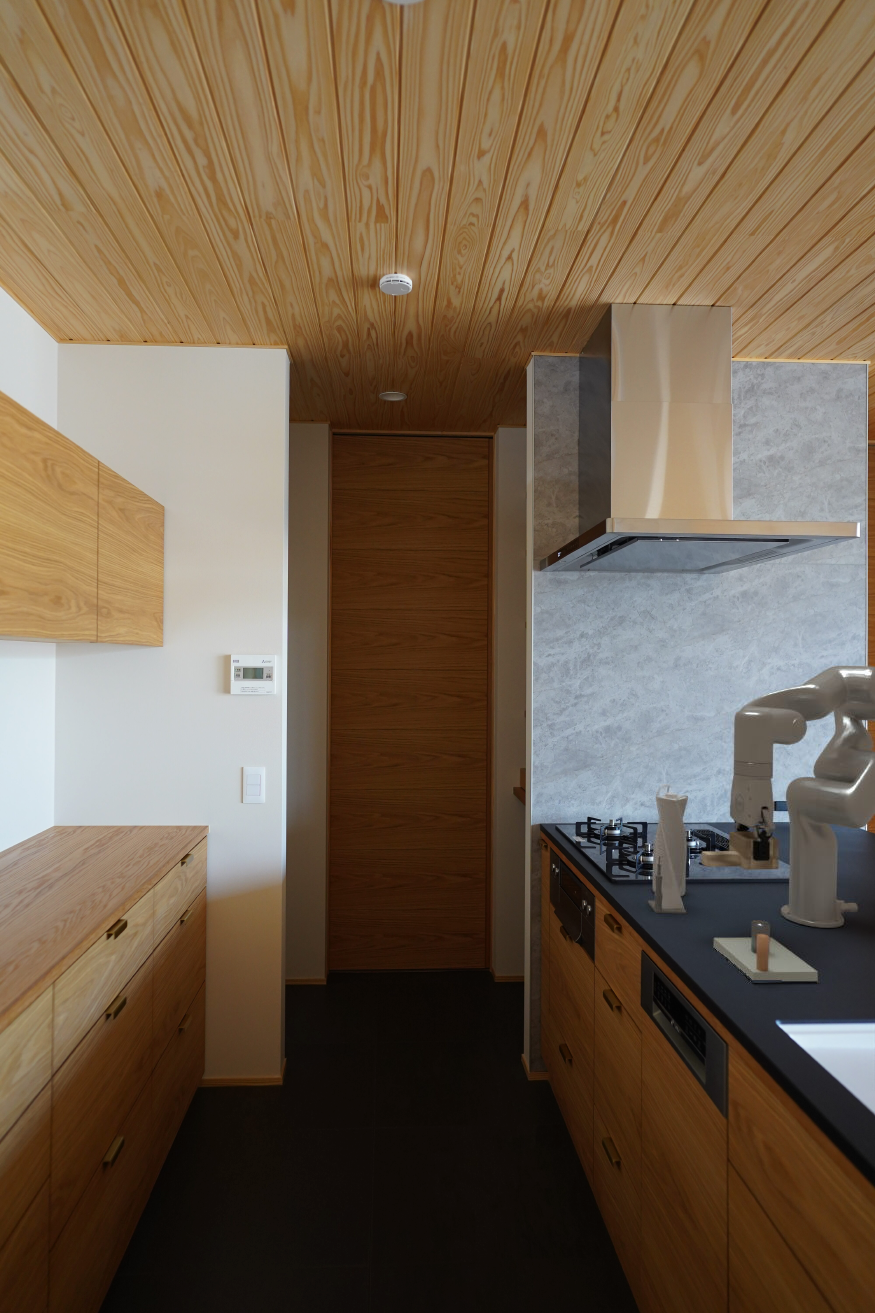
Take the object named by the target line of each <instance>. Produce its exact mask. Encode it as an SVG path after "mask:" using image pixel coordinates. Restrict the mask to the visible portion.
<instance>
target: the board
mask: <svg viewBox="0 0 875 1313" xmlns="http://www.w3.org/2000/svg"><path fill="white" fill-rule="evenodd" d="M714 948H715V949H716V950H717V952H718V951H719V952H720V953H721V954H723V955H724V956H725V957H727V958H728V959H729V960H730V961H731V962H732V963H733V964H735V965H736V966H737V967H738V968H739V969H741V970H742V971H743V972H744V973H746V975H747V976H749V977H750V978H751V979H752V980H782V981H817V982H818V976H819V974H818V971H817V970H816V969H815V968H814V967H812V966H810V965H809V964H808V963H806V961H804V960H803V959H801V958H800V957H799V956H797V955H796V954H794V953H793V952H792V951H791V950H789V949H787V947H785V946H784V945H782V944H781V943H780V942H778V941H777V940H776V939H774V938H773V937H770V946H769V965H768V971H766V972H764V971H759V970H757V969H756V959H757V954H755V953H753V952H752V951H751V937H714V938H713V949H714ZM715 949H714V950H715ZM716 950H715V951H716ZM719 952H718V953H719ZM720 953H719V954H720ZM721 954H720V955H721Z"/></svg>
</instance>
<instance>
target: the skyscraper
mask: <svg viewBox="0 0 875 1313" xmlns="http://www.w3.org/2000/svg"><path fill="white" fill-rule="evenodd" d="M670 786H671V785H669V784H664V785H662V786H661V787H660V788H659V789H658V790H657V791H656V794H655V795H656V796H655V802H656V807H657V813H658V817H659V818H658V822H657V827H656V836H655V838H656V852H655V855H656V872H657V874H656V891H655V892H654V900H647V904H648V905H649V906H650V908H651V909H652V910H653V911H654V913H655V914H657V913H659V914H685V915H686V914H687V910H686V909H685V907H684V903H683V900H682V896H680V892H681V888H682V884H683V879H684V873H685V866H686V867H687V853H688V852H687V850H688V849H687V848H688V847H687V844H688V843H687V835H686V828H685V824H684V820H683V819H684V815H685V811H686V809H687V808H686V807H687V805H688V799H689V796H688V795H687V794H683V795H680V796H679V794H678V793H676V792H670ZM664 788H667V789H666V792H665V793H664V795H659V794H660V791H661V790H662V789H664Z"/></svg>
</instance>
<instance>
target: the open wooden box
mask: <svg viewBox="0 0 875 1313" xmlns="http://www.w3.org/2000/svg"><path fill="white" fill-rule="evenodd" d="M761 831H762V830H759V834H760V833H761ZM728 834H729V835H728V836H729V844H728V845H729V847H728V849H729V850H724V851H723V850H722V851H720V850H719V851H718V850H717V851H715V850H714V851H711V850H710V851H709V850H708V851H701V864H702V865H703V866H704V867H706V868H708V867H709V868H711V867H712V868H713V867H714V868H717V867H718V868H719V867H720V868H721V867H723V868H726V867H727V868H729V867H739V868H742V869H743V870H745V871H746V870H747V871H748V870H751V871H752V870H779V853H780V852H779V848H780V846H779V844H780V842H779V839H778V838H776V837H774V836H773V835H772V836H771V841H770V859H769V860H768V861H755V860H754V859H753V840H755V835H754V831H751V830H749V832H735V831H729V832H728Z"/></svg>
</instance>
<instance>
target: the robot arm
mask: <svg viewBox="0 0 875 1313" xmlns="http://www.w3.org/2000/svg"><path fill="white" fill-rule="evenodd" d="M832 713H833V716H834V725H835V726H834V727H835V730H834V733H833V736H832V737H831V739H830V740H829V741H828V743H827V744H826V746H825V747H824V749H823V750H821V751H822V752H821V753H820V754H819V756H818V757H817V759H816V761H815V763H814V764H813V771H812V772H813V776H803V777H802V776H801V777H797V778H795V779H793V780H791V782H790V783H789V784H788V785H787V788H786V791H785V801H786V802H785V803H786V808H787V813H788V820H789V870H788V871H789V876H788V877H789V879H788V880H789V881H788V885H789V886H788V904H785V905H783V906H782V907H781V908H780V913H781V916H783V918H784V919H787V920H789V921H791V922H793V923H797V924H799V925H803V926H807V927H808V926H809V927H814V928H823V929H824V928H826V929H830V928H831V929H832V928H834V929H835V928H839V927H842V926H843V925H844V923H845V919H844V916H843V915H842V914H844V913H845V912H848V913H856V912H858V910H859V907H858V905H857V903H856V902H845V900H839V899H837V890H838V889H837V885H838V884H837V883H838V882H837V881H838V880H837V877H838V875H837V874H838V840H837V837H836V834H835V833H834V831H833V829H832V827H831V825H833V826H839V827H841V828H842V827H844V828H848V829H861V828H863V827H866V826H867V825H868V823H870V822H871V820H872V818H874V816H875V751H874V740H873V738H872V735H871V733H870V732H869V730H868V729H867V728H866V727H865V726H864V722H863V721H865V722H866V721H870V722H875V666H868V665H865V666H862V665H835V666H831V667H828V668H826V669H824V670H823V671H822V672H820V673H818V674H817V675H815V676H813V677H812V678H810V679H808V680H807V681H806V682H804V683H803V684H801V685H798V686H797V685H796V686H793V687H788V688H786V689H782V690H778V691H774V692H771V693H767V694H763V695H760V696H758V697H756V698H755V699H753V700H750V702H747V704H745V705H743V706H742V708H741V709H739V711H736V713H735V715H734V719H733V721H734V722H733V725H734V726H733V731H734V732H733V733H734V734H733V778H732V782H731V791H730V801H729V802H730V803H729V804H730V806H729V808H730V809H729V816H730V818H731V819H732V820H733V821H734V827H733V828H734V830H735V831H734V832H749V831H750V829H751V828H752V829H753V831H754V835H755V840H753V859H754V860H755V861H768V860H769V859H770V841H771V836H772V837H773V832H774V831H775V829H776V825H775V823H774V794H773V785H772V784H773V783H772V779H773V778H774V745H775V744H776V745H782V746H783V745H785V746H788V745H789V746H791V745H795V744H797V743H799V742H800V741H802V740H803V739H804V737H805V735H806V733H807V731H808V730H807V728H808V727H807V722H813V721H816V720H817V721H818V720H822V719H824V718H826V717H827V716H829V715H831V714H832ZM759 831H761V833H760V834H759Z"/></svg>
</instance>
